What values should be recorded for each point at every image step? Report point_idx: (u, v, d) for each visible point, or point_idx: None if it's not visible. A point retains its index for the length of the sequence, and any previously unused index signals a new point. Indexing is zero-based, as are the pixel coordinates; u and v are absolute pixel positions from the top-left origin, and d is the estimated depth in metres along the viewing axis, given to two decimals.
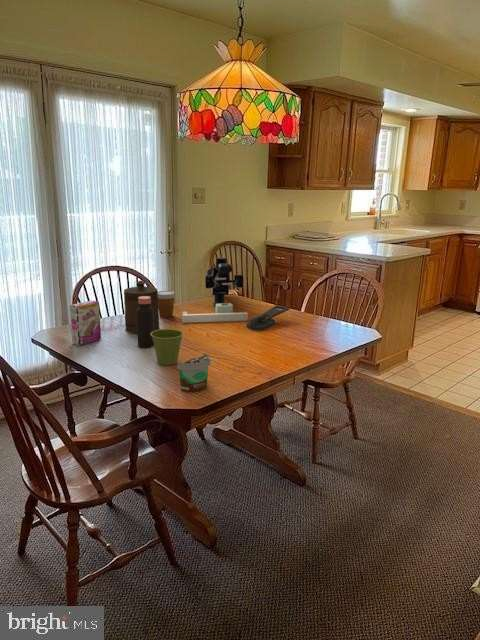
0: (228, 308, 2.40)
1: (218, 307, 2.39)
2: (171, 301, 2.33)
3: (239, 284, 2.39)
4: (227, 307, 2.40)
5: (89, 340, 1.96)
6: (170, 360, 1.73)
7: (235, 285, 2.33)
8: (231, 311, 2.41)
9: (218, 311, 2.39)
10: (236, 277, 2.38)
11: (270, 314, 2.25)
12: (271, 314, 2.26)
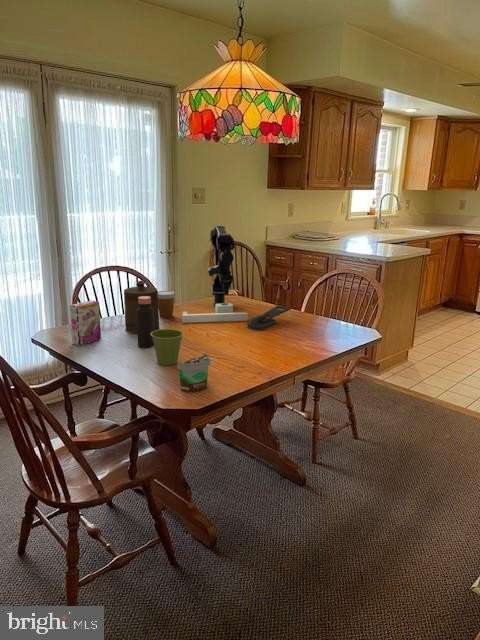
0: (228, 308, 2.40)
1: (218, 307, 2.39)
2: (171, 301, 2.33)
3: None
4: (227, 307, 2.40)
5: (89, 340, 1.96)
6: (170, 360, 1.73)
7: None
8: (231, 311, 2.41)
9: (218, 311, 2.39)
10: (221, 282, 2.32)
11: (271, 314, 2.26)
12: (272, 314, 2.26)
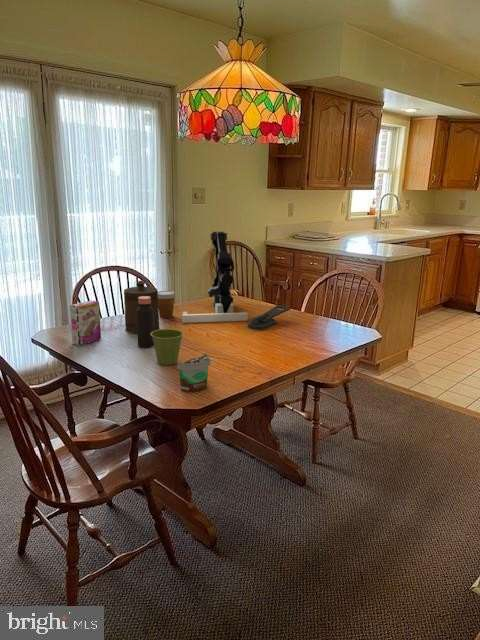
0: (228, 308, 2.40)
1: (218, 307, 2.39)
2: (171, 301, 2.33)
3: None
4: None
5: (89, 340, 1.96)
6: (170, 360, 1.73)
7: None
8: (231, 311, 2.41)
9: (218, 311, 2.39)
10: None
11: (271, 314, 2.26)
12: (272, 314, 2.26)
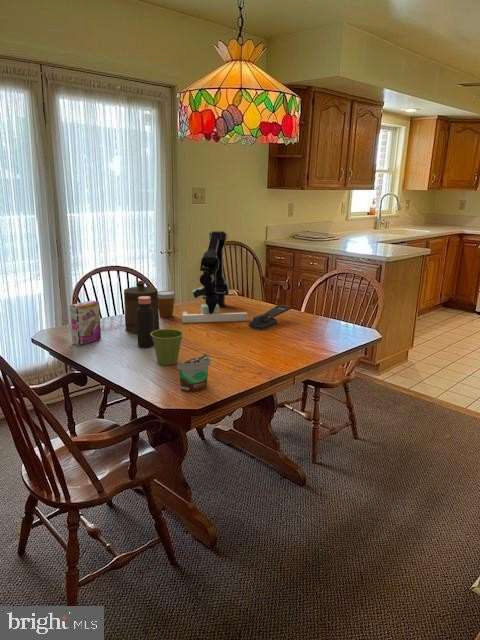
0: (214, 309, 2.31)
1: (204, 308, 2.30)
2: (171, 301, 2.33)
3: None
4: None
5: (89, 340, 1.96)
6: (170, 360, 1.73)
7: None
8: (217, 312, 2.32)
9: (204, 312, 2.30)
10: (206, 303, 2.28)
11: (272, 313, 2.27)
12: (273, 313, 2.27)
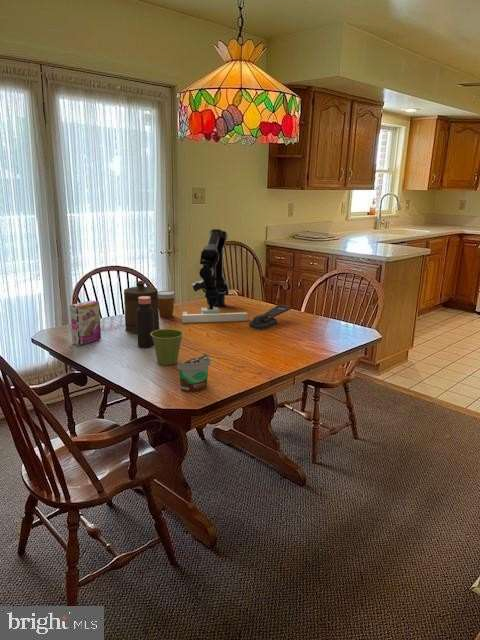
0: (214, 312, 2.32)
1: (204, 311, 2.30)
2: (171, 301, 2.33)
3: None
4: (213, 311, 2.31)
5: (89, 340, 1.96)
6: (170, 360, 1.73)
7: (211, 309, 2.29)
8: None
9: None
10: (206, 297, 2.25)
11: (272, 313, 2.27)
12: (273, 313, 2.27)
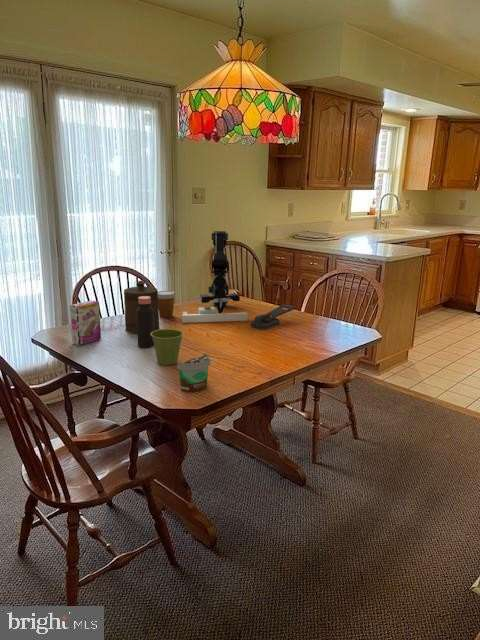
0: (211, 312, 2.31)
1: (201, 311, 2.30)
2: (171, 301, 2.33)
3: None
4: (210, 311, 2.31)
5: (89, 340, 1.96)
6: (170, 360, 1.73)
7: None
8: None
9: None
10: None
11: (274, 313, 2.27)
12: (276, 313, 2.27)
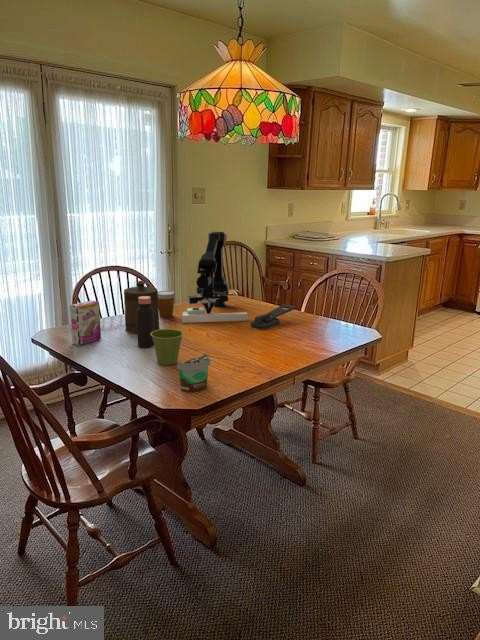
0: (200, 313, 2.30)
1: (189, 312, 2.28)
2: (171, 301, 2.33)
3: None
4: (199, 312, 2.29)
5: (89, 340, 1.96)
6: (170, 360, 1.73)
7: None
8: None
9: None
10: None
11: (275, 313, 2.27)
12: (276, 313, 2.27)
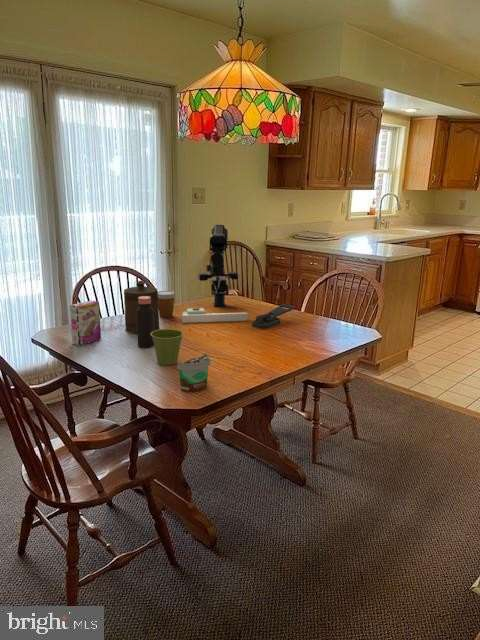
0: (200, 313, 2.30)
1: (189, 312, 2.29)
2: (171, 301, 2.33)
3: None
4: (199, 312, 2.29)
5: (89, 340, 1.96)
6: (170, 360, 1.73)
7: (218, 293, 2.33)
8: None
9: None
10: None
11: (276, 313, 2.28)
12: (277, 313, 2.28)
